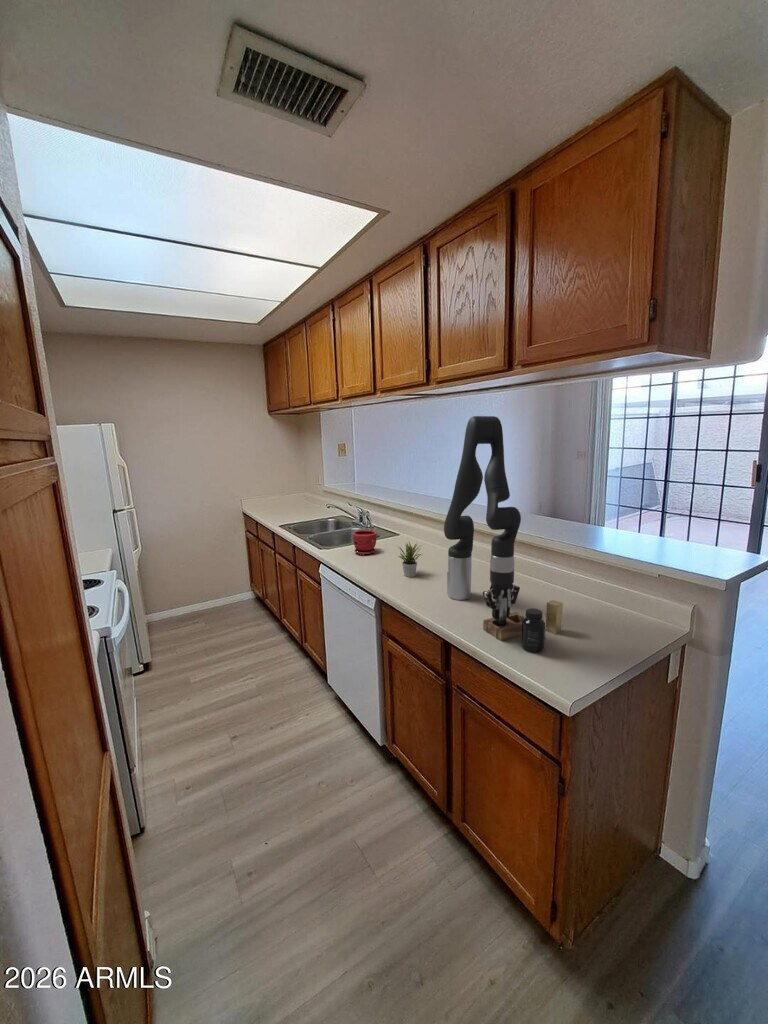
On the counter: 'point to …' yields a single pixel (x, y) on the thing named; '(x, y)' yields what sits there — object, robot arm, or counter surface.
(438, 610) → the counter surface
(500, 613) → the cylinder
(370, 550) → the plant pot
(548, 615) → the square bit
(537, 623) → the supplement bottle
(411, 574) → the house plant
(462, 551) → the robot arm
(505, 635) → the bore block
